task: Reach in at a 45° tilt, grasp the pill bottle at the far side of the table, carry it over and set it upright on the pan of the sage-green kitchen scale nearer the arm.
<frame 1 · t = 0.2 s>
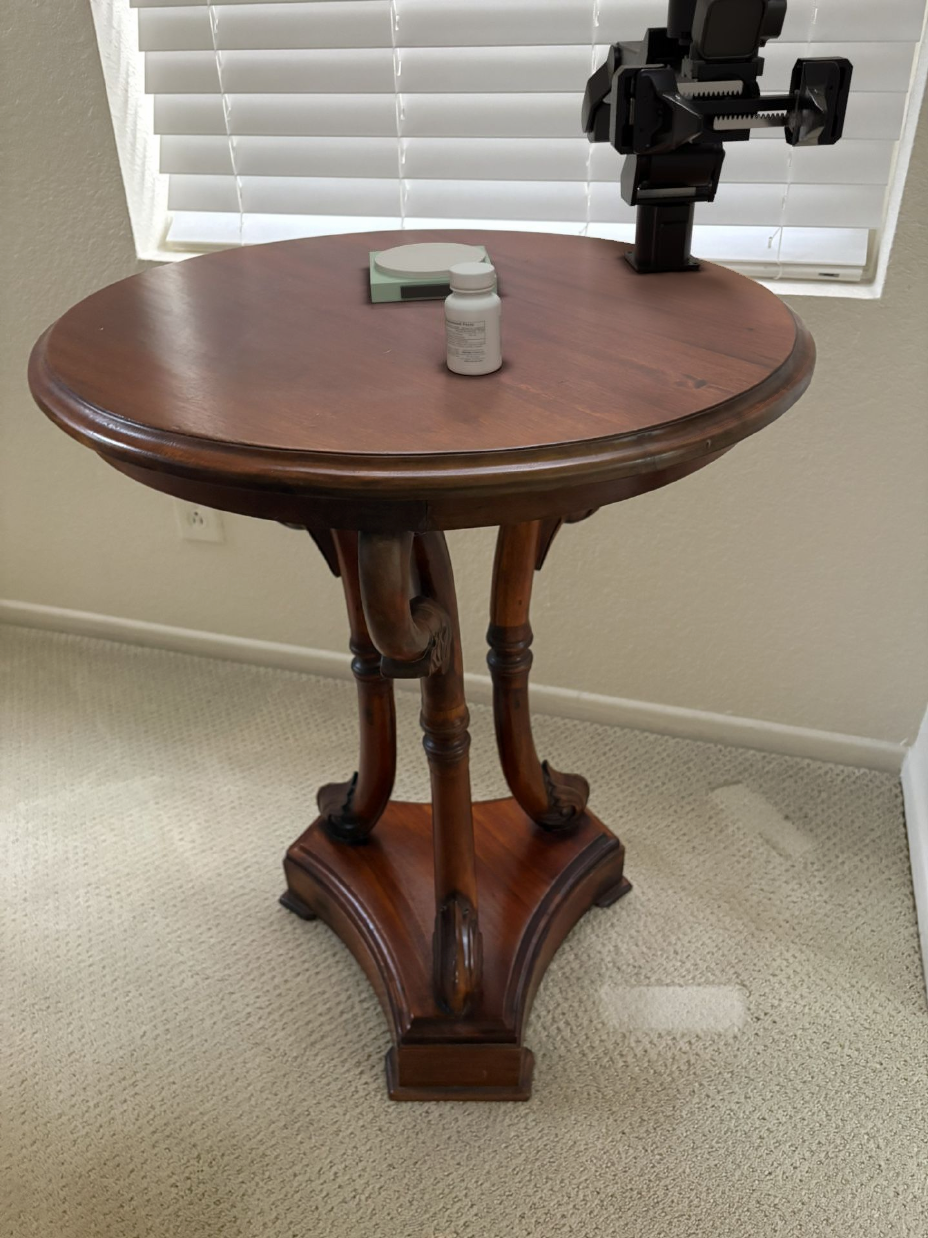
hand: (762, 121, 74), 17 cm above the table, tool horizontal, fingers open, 9 cm apart
scale: (431, 281, 101), on the table
pill bottle: (474, 368, 81), on the table
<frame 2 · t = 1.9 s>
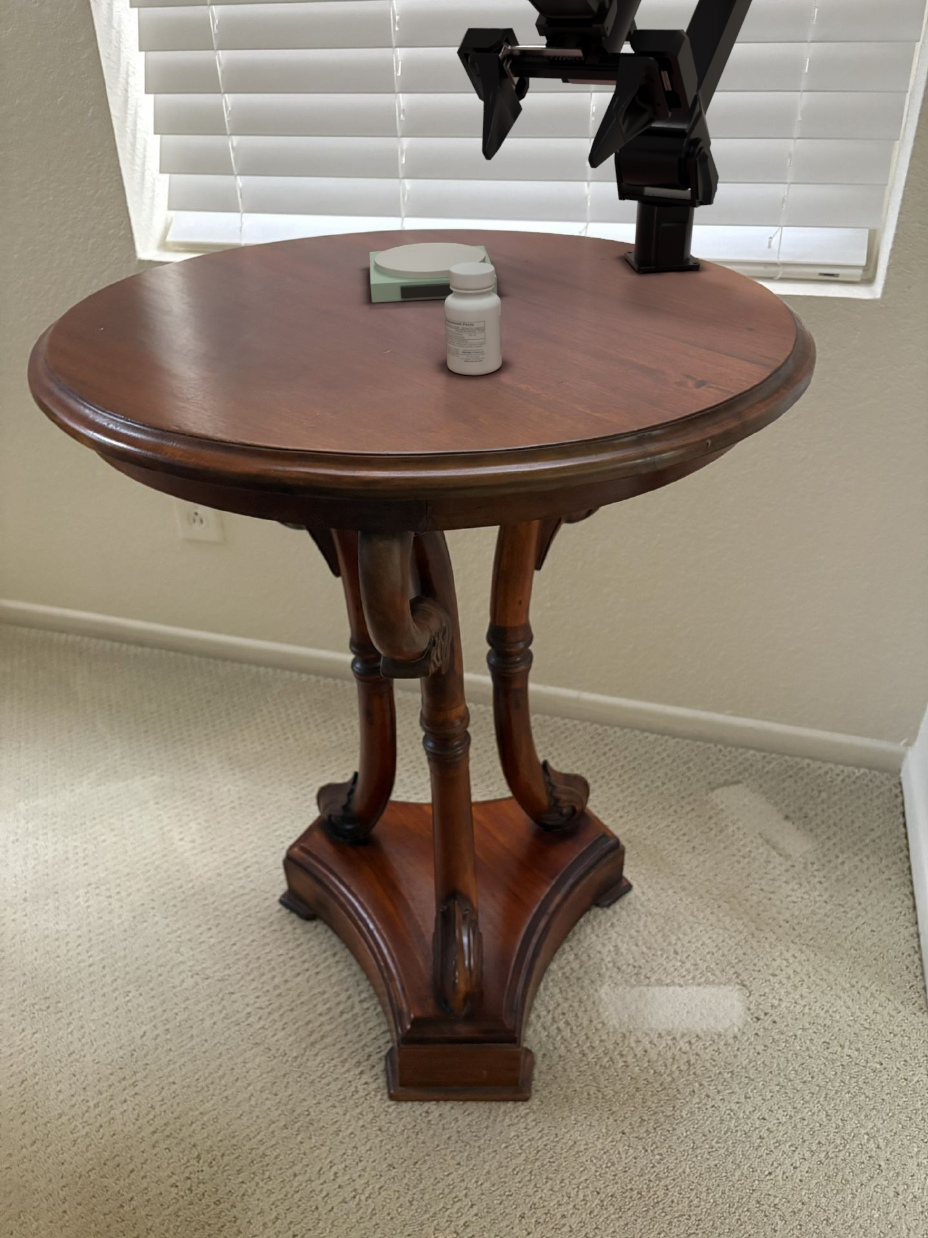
hand: (537, 160, 78), 14 cm above the table, tool tilted 45°, fingers open, 9 cm apart
nothing on the table moved.
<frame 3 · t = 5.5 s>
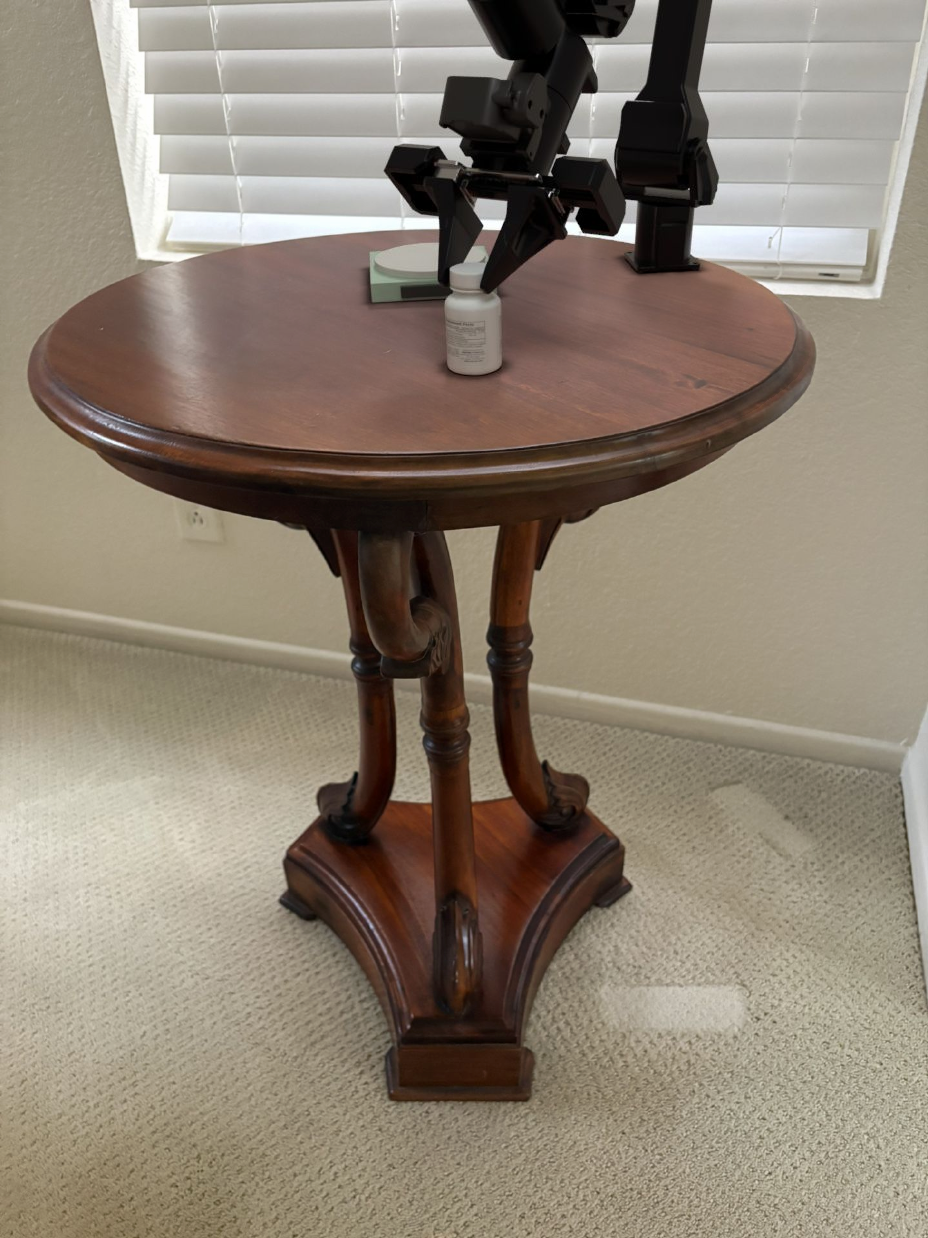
hand: (462, 287, 76), 7 cm above the table, tool tilted 45°, fingers closed on pill bottle, 3 cm apart
pill bottle: (474, 368, 81), on the table, touching gripper
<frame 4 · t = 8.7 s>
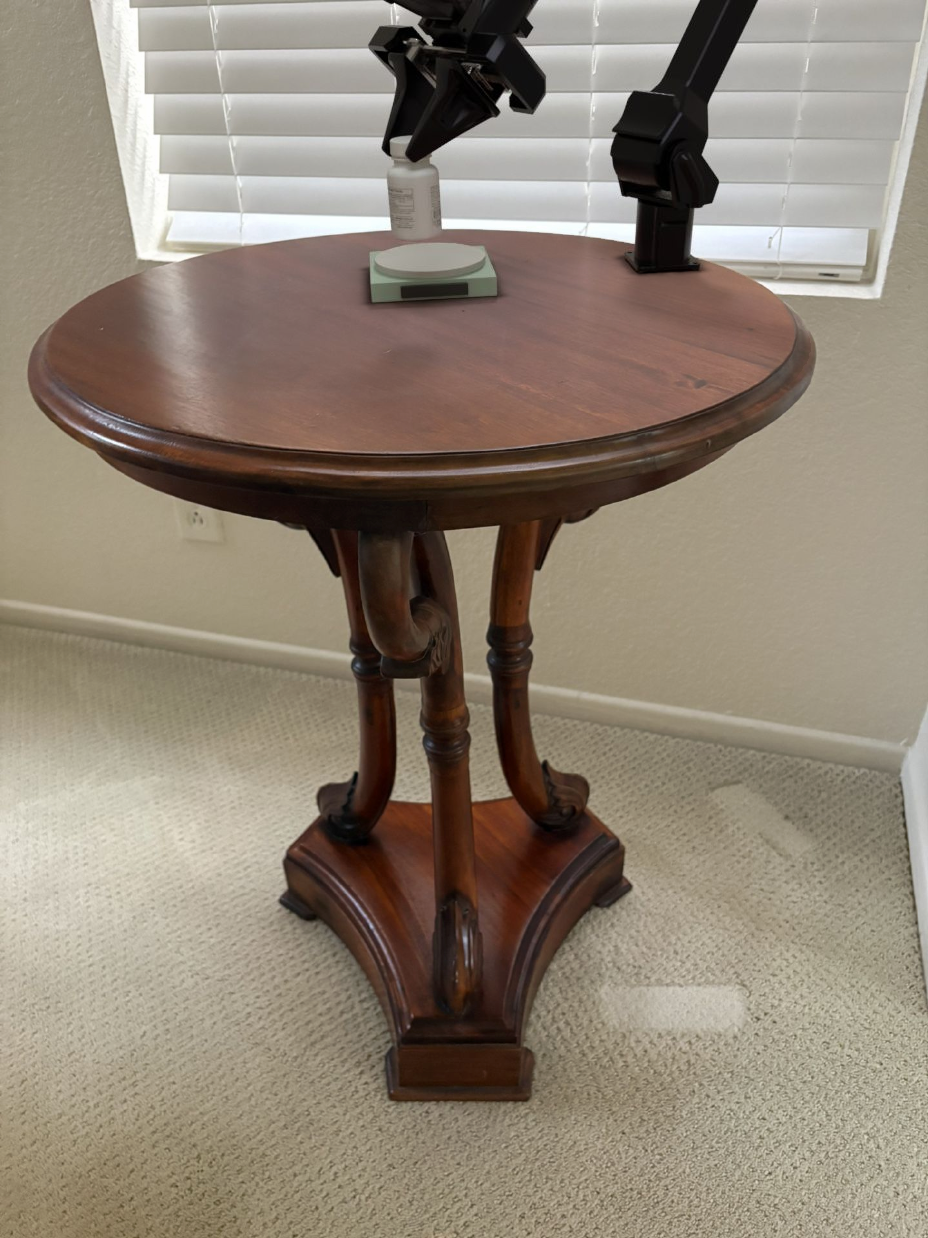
hand: (397, 155, 83), 14 cm above the table, tool tilted 45°, fingers closed on pill bottle, 3 cm apart
pill bottle: (417, 238, 87), point 7 cm above the table, touching gripper
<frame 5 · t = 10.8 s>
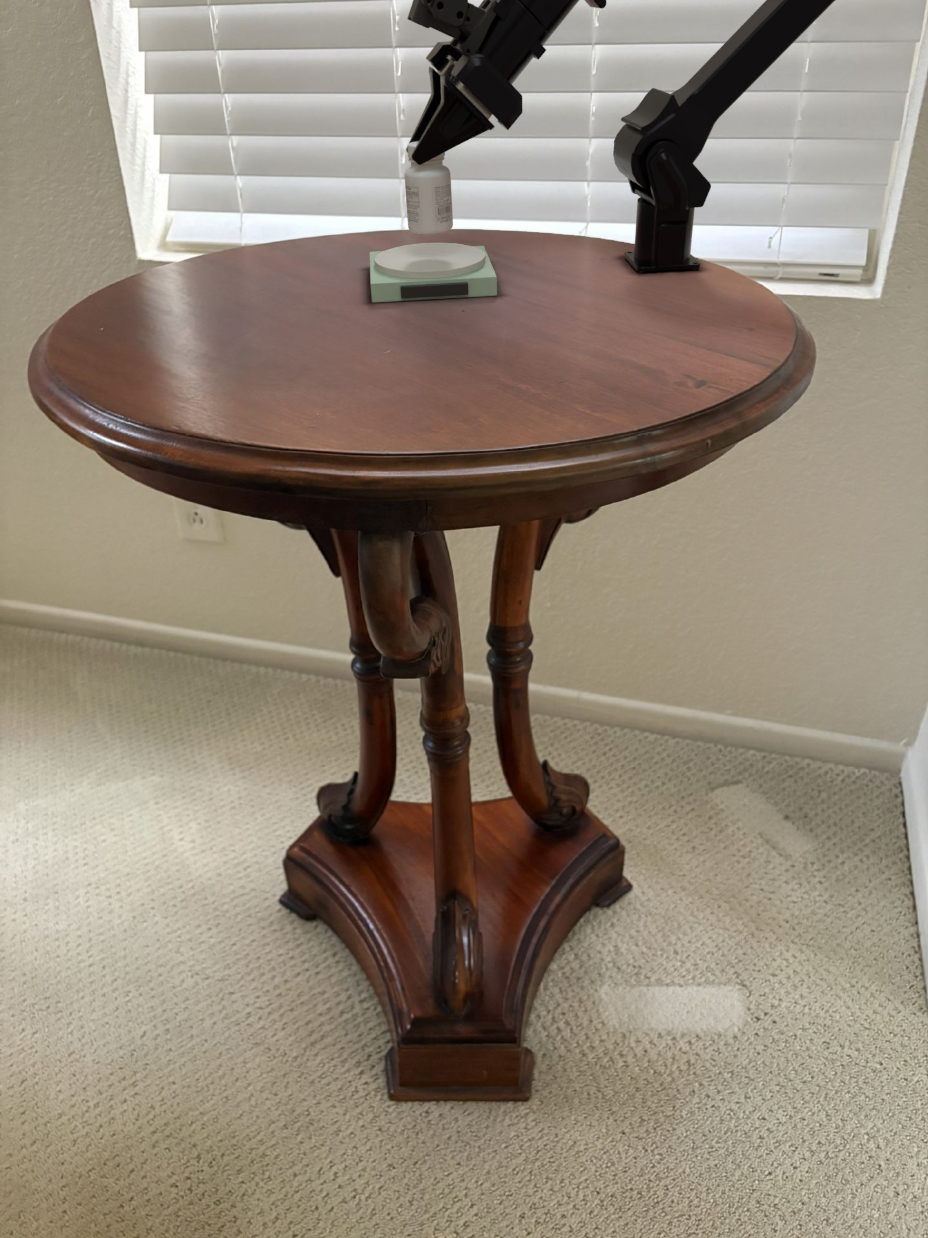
hand: (412, 157, 94), 12 cm above the table, tool tilted 45°, fingers closed on pill bottle, 3 cm apart
pill bottle: (430, 231, 98), point 5 cm above the table, touching gripper
when the fingers open (9 cm above the table, at t = 11.9 s): pill bottle stays where it is, resting on scale.
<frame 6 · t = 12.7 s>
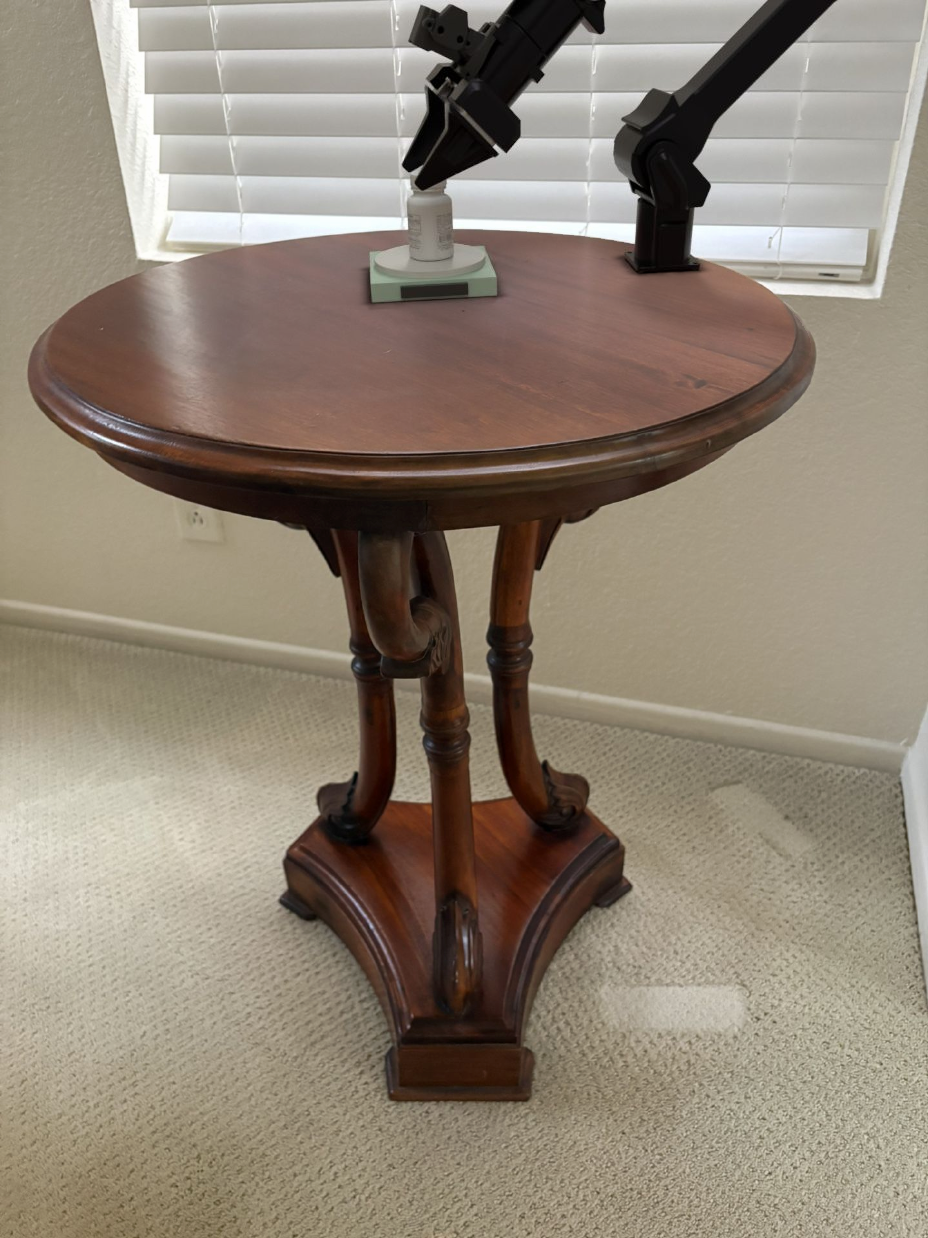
hand: (411, 177, 95), 10 cm above the table, tool tilted 45°, fingers open, 9 cm apart
pill bottle: (431, 258, 100), point 2 cm above the table, touching scale
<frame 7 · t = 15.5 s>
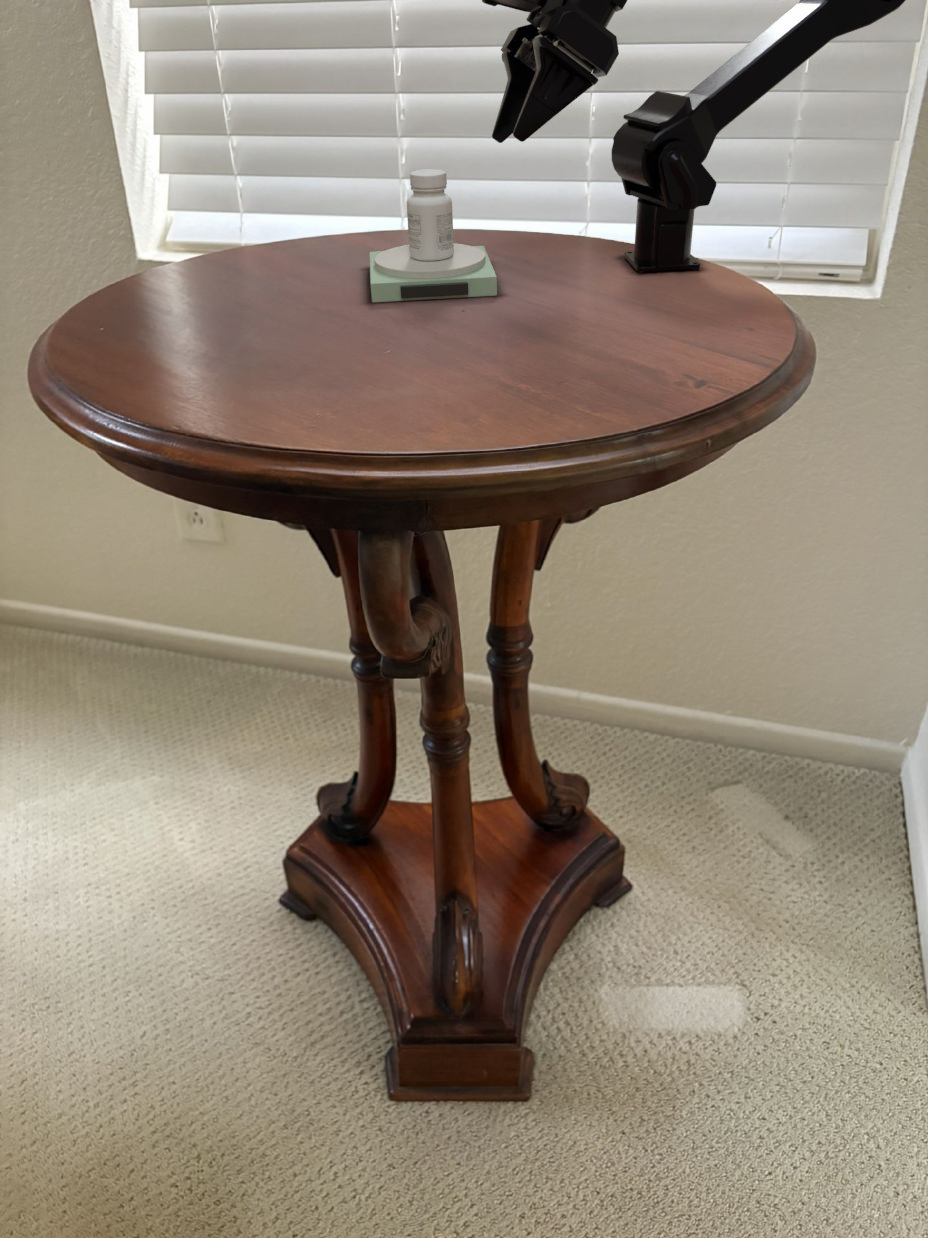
hand: (506, 139, 91), 13 cm above the table, tool tilted 35°, fingers open, 9 cm apart
nothing on the table moved.
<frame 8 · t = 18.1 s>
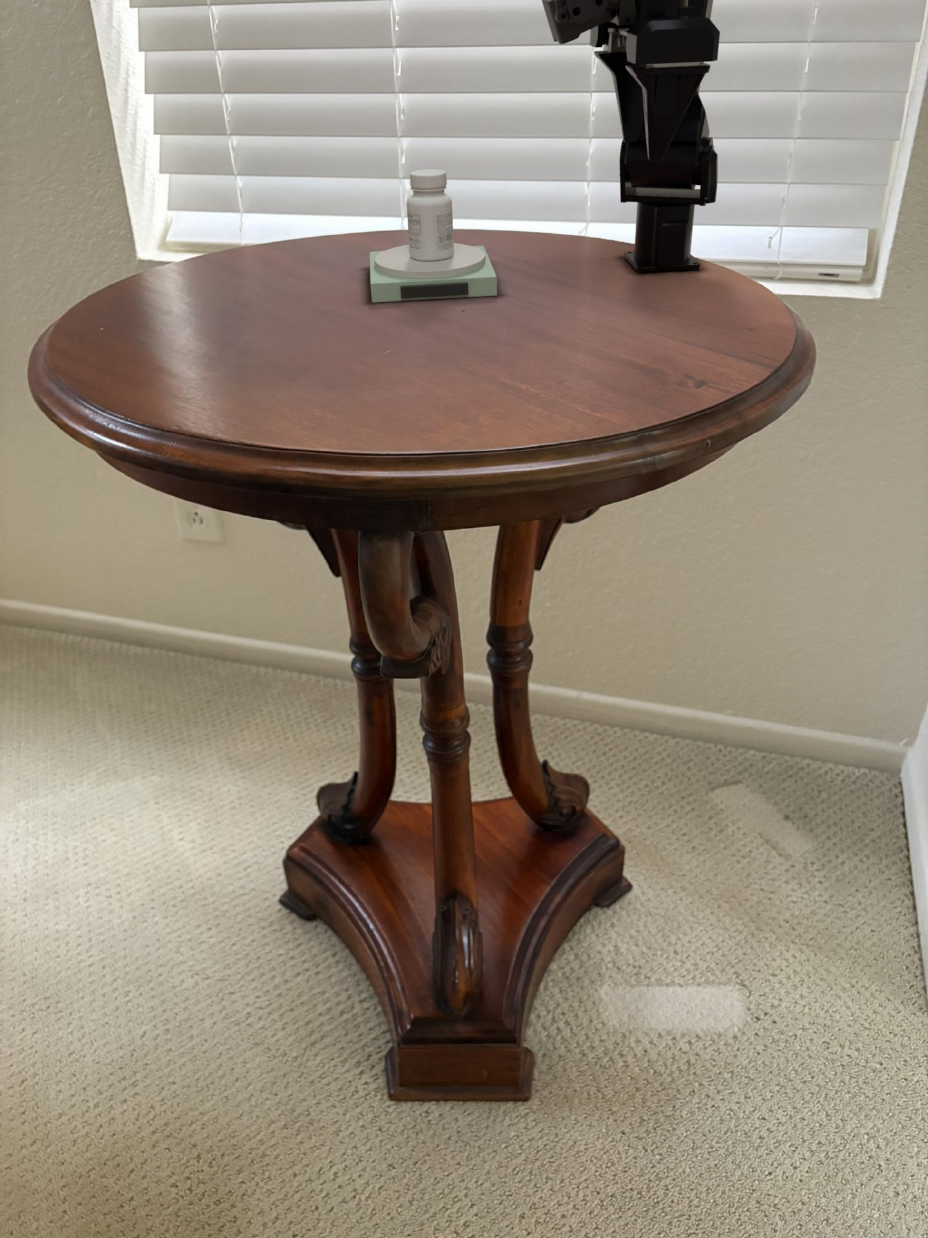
hand: (642, 150, 86), 13 cm above the table, tool pointing down, fingers open, 9 cm apart
nothing on the table moved.
at the end: pill bottle inside the target area on the scale (0.2 cm from its centre), point 2.3 cm above the scale's base; pill bottle tilted 0°; the gripper is holding nothing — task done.
